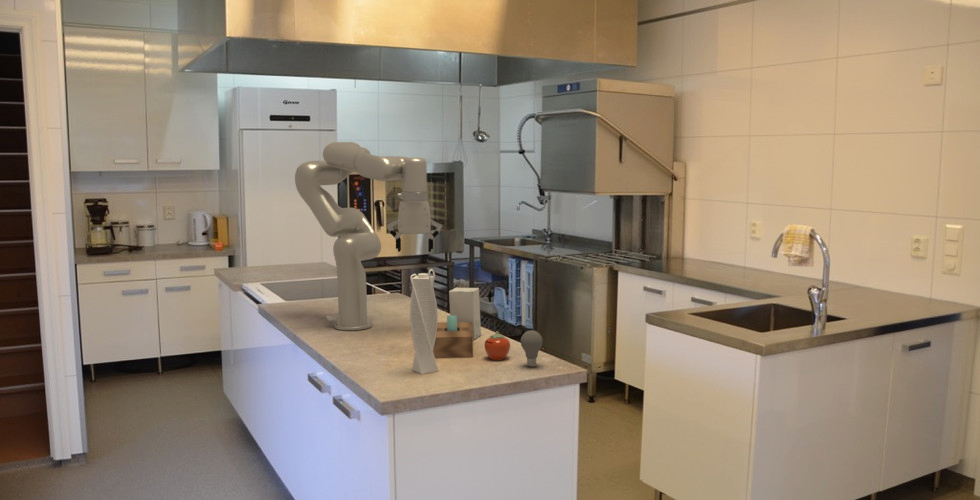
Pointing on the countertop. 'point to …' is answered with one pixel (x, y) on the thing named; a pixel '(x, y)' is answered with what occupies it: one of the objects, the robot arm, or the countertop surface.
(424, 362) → the skyscraper
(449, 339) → the walnut socket block
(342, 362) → the countertop surface
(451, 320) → the teal peg
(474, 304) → the skincare box
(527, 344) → the light bulb
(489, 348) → the tomato
